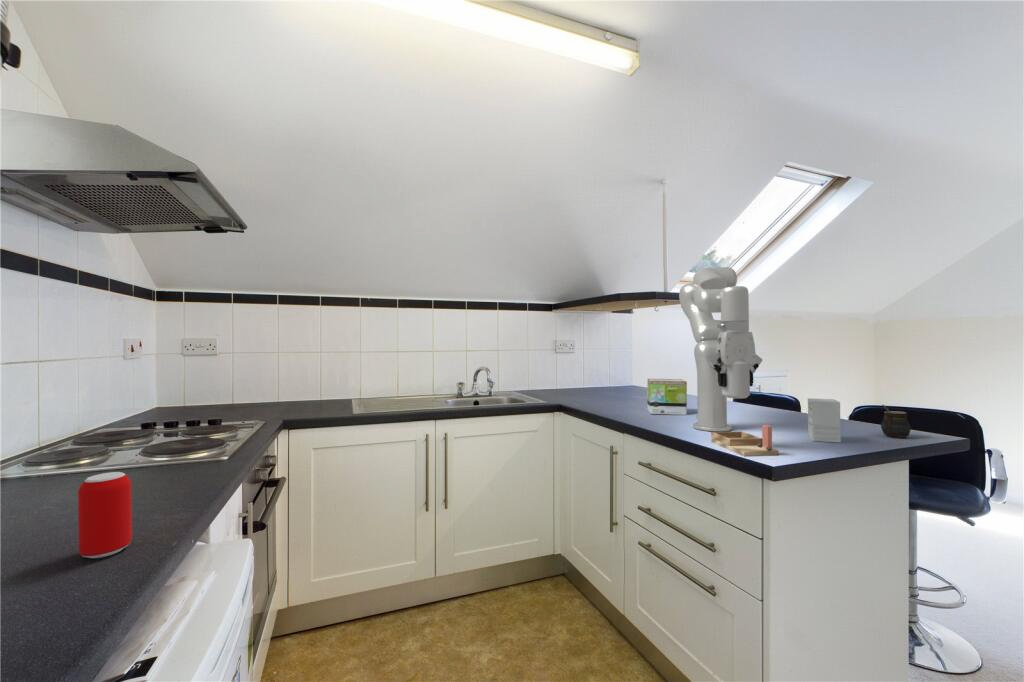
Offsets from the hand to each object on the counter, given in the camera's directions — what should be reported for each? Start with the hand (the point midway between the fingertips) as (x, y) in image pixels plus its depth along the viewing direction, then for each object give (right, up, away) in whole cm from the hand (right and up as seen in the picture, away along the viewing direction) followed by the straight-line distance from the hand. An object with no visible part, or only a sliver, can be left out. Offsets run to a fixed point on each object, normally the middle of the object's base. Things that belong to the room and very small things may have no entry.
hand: (735, 385), depth 132 cm
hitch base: (0, -18, -3) cm, 18 cm away
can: (0, -4, 0) cm, 4 cm away
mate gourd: (+56, -17, +9) cm, 59 cm away
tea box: (0, -18, +59) cm, 62 cm away
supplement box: (+31, -18, +6) cm, 36 cm away
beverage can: (-132, -20, -63) cm, 147 cm away
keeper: (+3, -13, -9) cm, 17 cm away
